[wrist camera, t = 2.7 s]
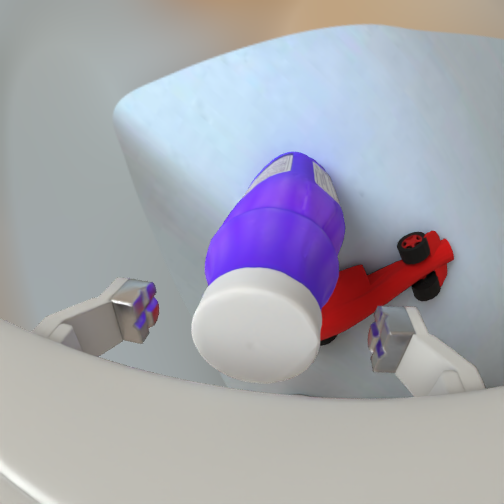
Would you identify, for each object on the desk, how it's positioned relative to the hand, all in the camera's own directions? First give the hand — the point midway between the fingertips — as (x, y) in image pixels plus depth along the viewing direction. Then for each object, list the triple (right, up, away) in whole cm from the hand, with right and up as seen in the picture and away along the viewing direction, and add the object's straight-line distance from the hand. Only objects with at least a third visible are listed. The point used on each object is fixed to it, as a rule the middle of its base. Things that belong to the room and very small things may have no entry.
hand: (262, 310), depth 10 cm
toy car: (+10, -1, +16) cm, 19 cm away
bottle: (+3, +7, +14) cm, 16 cm away
